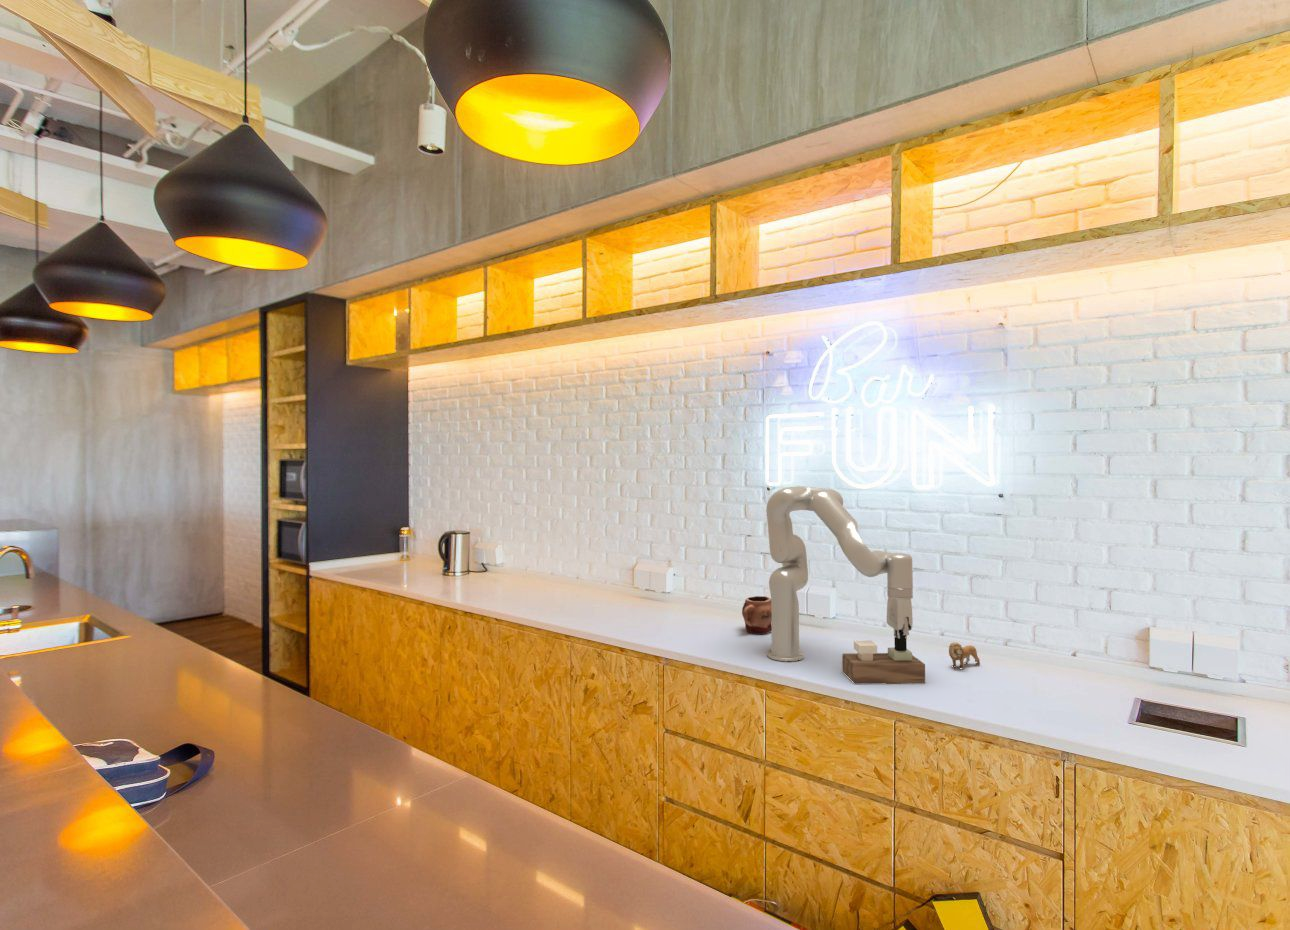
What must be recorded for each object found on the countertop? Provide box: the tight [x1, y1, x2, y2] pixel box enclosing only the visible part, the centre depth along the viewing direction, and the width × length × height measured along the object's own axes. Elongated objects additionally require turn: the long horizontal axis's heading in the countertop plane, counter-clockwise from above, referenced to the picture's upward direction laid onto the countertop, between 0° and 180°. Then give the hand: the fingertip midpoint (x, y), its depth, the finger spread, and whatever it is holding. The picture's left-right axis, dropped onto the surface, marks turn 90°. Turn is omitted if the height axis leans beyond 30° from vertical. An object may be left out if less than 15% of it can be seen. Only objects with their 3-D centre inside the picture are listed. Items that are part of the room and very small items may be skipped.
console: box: [841, 652, 926, 685], centre depth 211 cm, size 12×22×6 cm, turn 90°
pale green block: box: [887, 647, 913, 661], centre depth 211 cm, size 6×6×7 cm
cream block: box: [853, 640, 878, 661], centre depth 211 cm, size 6×6×7 cm
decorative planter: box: [741, 595, 772, 635], centre depth 267 cm, size 20×12×14 cm, turn 145°
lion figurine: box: [948, 641, 981, 669], centre depth 222 cm, size 15×5×9 cm, turn 125°
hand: (900, 650), depth 211 cm, fingers closed
